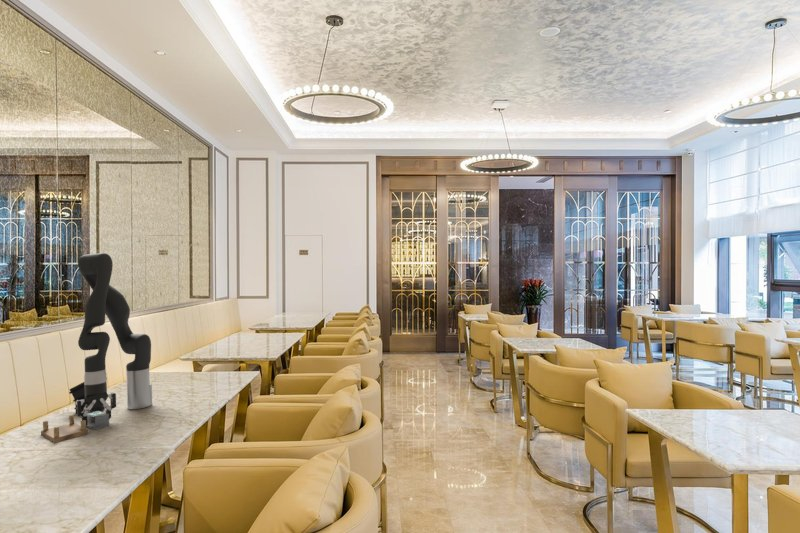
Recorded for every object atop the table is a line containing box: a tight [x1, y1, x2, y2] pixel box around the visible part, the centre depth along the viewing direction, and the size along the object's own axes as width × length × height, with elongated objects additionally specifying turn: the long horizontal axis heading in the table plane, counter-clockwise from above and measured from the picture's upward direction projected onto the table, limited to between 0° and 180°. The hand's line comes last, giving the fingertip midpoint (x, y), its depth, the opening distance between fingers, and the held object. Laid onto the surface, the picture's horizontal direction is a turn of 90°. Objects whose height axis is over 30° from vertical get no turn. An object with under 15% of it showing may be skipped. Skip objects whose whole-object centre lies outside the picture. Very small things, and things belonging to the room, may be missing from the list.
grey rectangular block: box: [86, 411, 110, 431], centre depth 188 cm, size 5×9×5 cm, turn 57°
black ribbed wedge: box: [68, 381, 106, 412], centre depth 210 cm, size 4×13×15 cm, turn 98°
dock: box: [40, 414, 89, 443], centre depth 180 cm, size 11×15×5 cm
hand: (96, 422), depth 188 cm, fingers open, 7 cm apart
